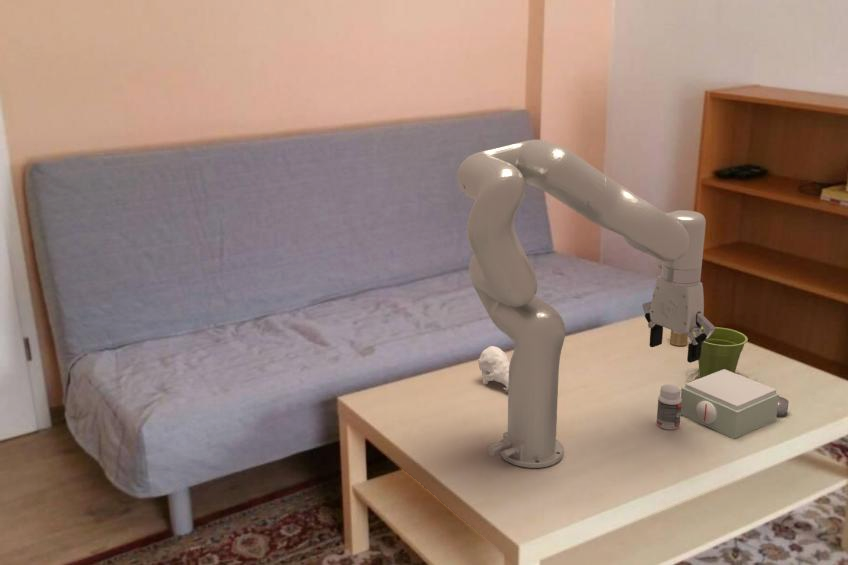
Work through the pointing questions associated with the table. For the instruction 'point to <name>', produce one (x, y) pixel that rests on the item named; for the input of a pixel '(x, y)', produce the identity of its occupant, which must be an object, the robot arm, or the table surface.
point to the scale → (729, 403)
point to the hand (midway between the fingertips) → (674, 353)
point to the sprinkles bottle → (678, 338)
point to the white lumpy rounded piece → (494, 366)
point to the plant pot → (721, 351)
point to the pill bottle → (669, 407)
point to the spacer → (782, 407)
